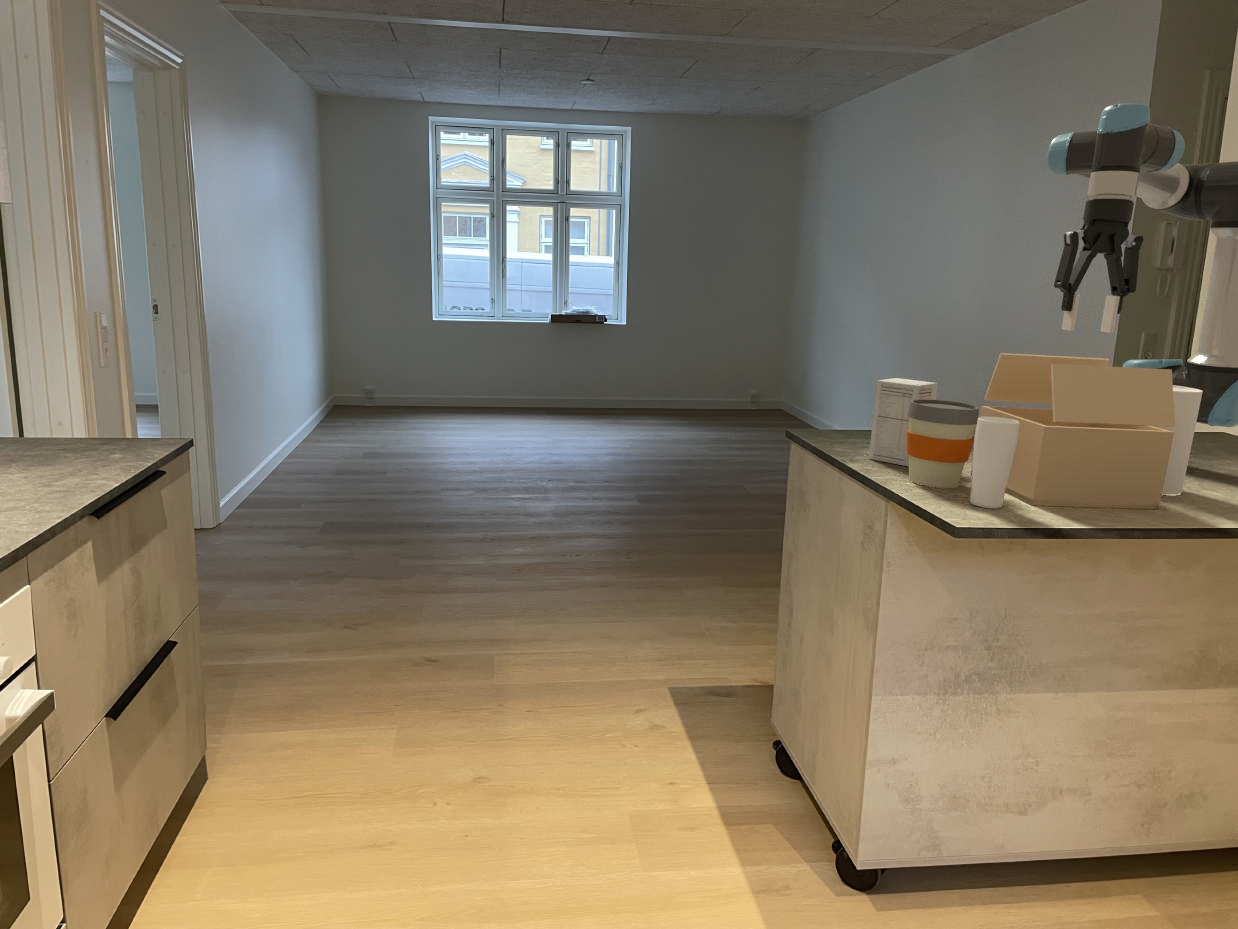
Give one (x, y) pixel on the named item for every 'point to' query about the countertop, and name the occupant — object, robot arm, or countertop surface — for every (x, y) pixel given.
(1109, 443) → the carton
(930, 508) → the countertop surface
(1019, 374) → the flap
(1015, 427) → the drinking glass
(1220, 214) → the robot arm
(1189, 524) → the countertop surface
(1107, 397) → the flap
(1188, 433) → the canister
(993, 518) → the countertop surface
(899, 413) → the supplement box
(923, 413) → the reusable coffee cup
